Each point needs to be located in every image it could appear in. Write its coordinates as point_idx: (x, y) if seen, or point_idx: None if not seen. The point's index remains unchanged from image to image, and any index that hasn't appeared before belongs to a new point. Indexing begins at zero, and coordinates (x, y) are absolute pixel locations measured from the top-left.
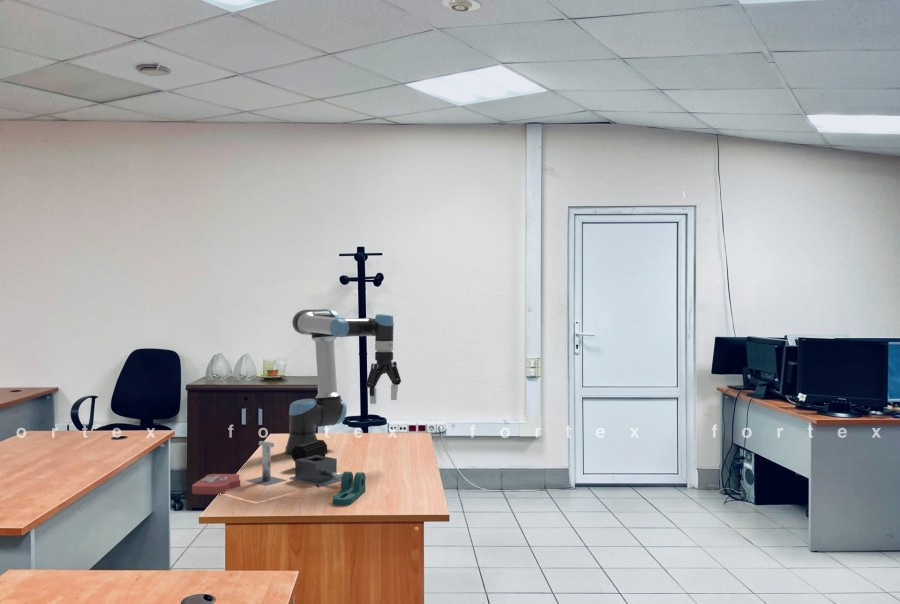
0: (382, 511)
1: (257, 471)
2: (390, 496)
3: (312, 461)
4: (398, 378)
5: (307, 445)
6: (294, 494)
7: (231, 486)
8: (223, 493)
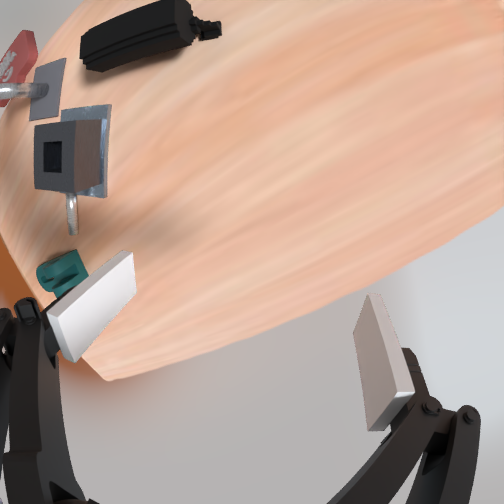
0: None
1: (90, 9)
2: None
3: (40, 167)
4: (415, 478)
5: (96, 50)
6: (31, 189)
7: None
8: (3, 106)
